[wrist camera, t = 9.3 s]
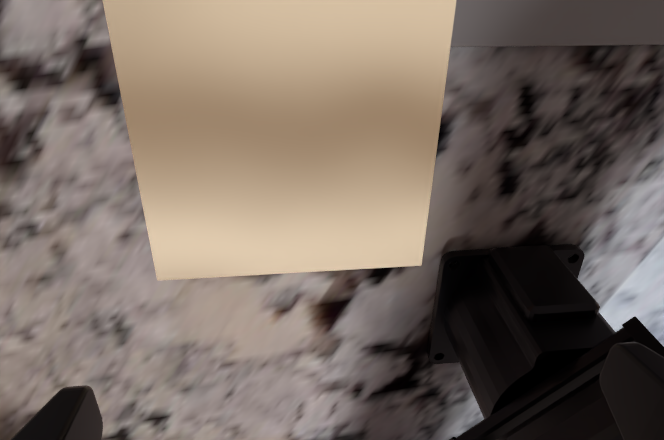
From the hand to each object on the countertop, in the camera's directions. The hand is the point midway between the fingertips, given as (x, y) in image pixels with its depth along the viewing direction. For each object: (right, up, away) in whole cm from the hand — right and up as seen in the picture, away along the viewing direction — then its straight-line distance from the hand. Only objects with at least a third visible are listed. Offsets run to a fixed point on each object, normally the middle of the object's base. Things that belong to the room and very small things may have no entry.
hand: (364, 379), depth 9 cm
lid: (-2, +5, +5) cm, 8 cm away
